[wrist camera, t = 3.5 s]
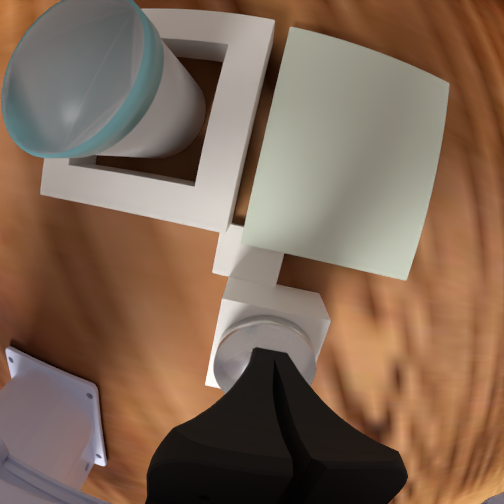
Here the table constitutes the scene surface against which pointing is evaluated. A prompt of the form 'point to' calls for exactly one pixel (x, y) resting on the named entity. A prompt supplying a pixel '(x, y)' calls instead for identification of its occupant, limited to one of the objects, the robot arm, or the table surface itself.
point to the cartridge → (99, 86)
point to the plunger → (263, 336)
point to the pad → (347, 156)
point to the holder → (207, 173)
